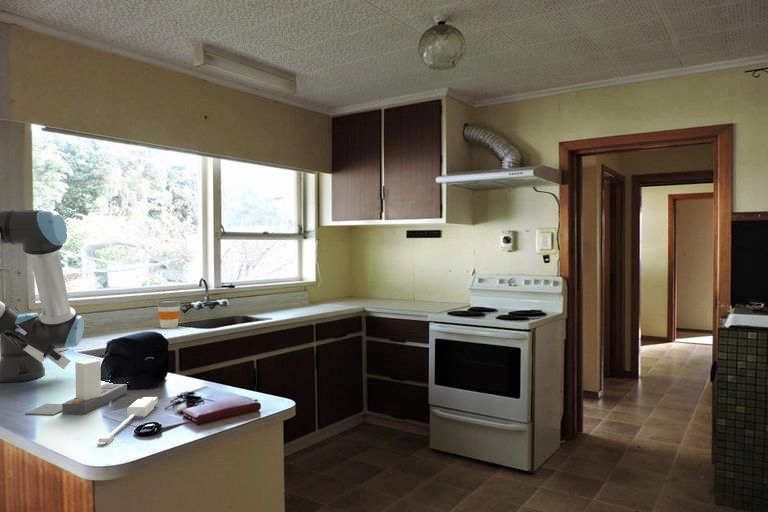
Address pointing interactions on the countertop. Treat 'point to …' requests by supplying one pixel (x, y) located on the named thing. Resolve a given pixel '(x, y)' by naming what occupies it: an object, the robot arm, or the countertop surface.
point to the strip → (94, 399)
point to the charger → (88, 379)
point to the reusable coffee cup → (168, 313)
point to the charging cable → (132, 415)
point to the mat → (46, 410)
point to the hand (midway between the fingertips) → (55, 361)
